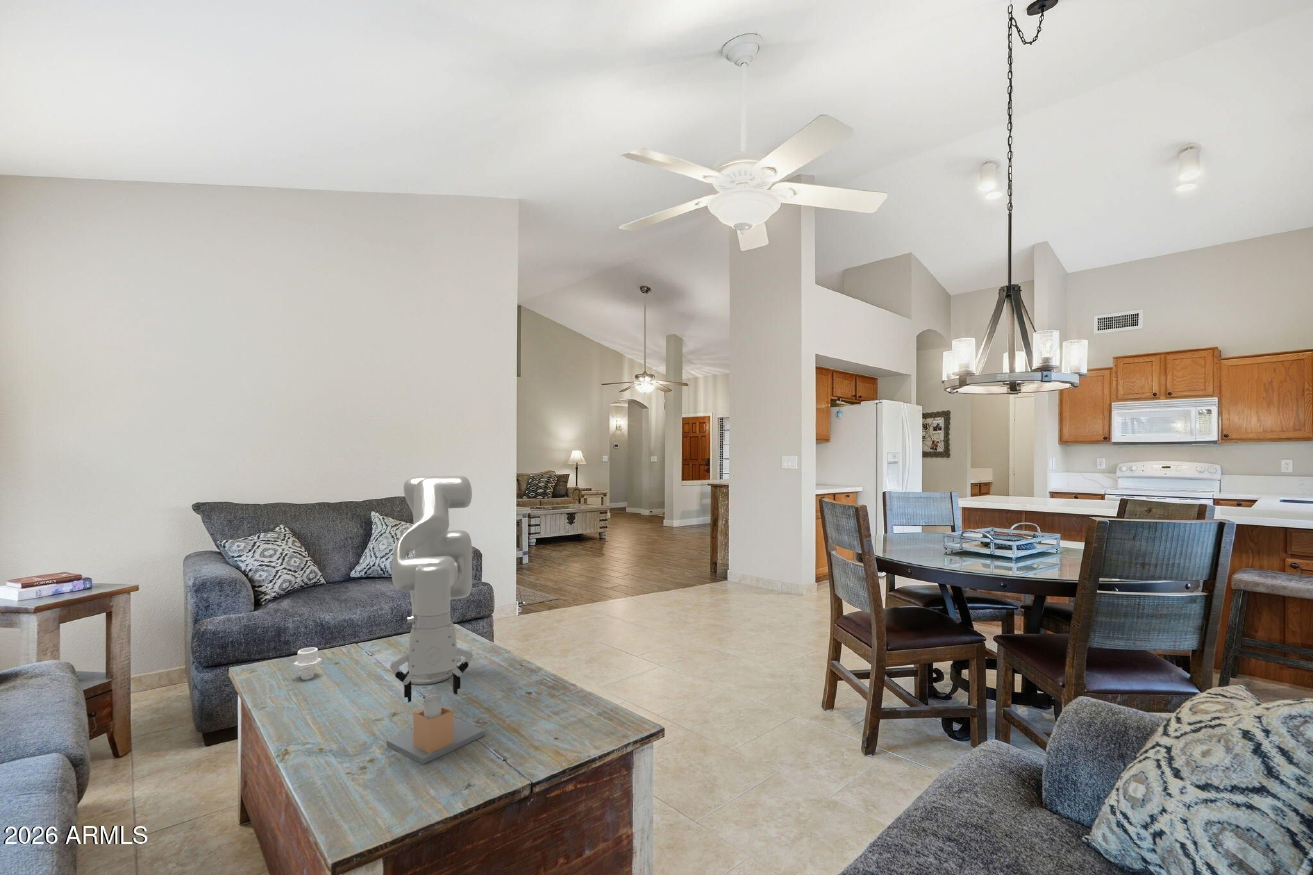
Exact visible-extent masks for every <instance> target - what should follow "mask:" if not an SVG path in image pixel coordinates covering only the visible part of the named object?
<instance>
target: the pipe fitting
mask: <svg viewBox="0 0 1313 875" xmlns="http://www.w3.org/2000/svg"><path fill="white" fill-rule="evenodd" d="M318 649H319V648H317V647H314V646H313V647H311V646H310V647H305V648H300V649H299V650H298V651H297V659H296V661H295V662H293V668H296V669H300V671H301V673H300V677H301V680H304V681H306V680H311V679H313V678H314V677H315V671H314V670H315V667H317V666H318V665H321V663H322V660H323V659H322V658H320V657H318V656H319V655H318V654H319V650H318Z"/></svg>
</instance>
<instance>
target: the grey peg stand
mask: <svg viewBox="0 0 1313 875" xmlns="http://www.w3.org/2000/svg"><path fill="white" fill-rule="evenodd" d="M441 706H442V696H441V695H439V694H435V695H428V696H426V697H424V699H423V710H424V717H426V718H428V719H432V718H435V717H437V716H440V715H441ZM485 730H486V729H484V728H481V727H478V726H477V725H473V724H471V723H469V722H466V721H464V720H461V719H460V718H457V717H456V716H455V717H454V743H452V744H450V745H447V746H445V747H443V748H441V749H439V750H436V751H434V752H432V753H430V754H429V753H427V752H425V751H423V750H421V749H419V748H417V747H415V746H414V728H412V729H410V730H408V731H405V732H404V733H401V734H399V735H397V736H394V737H391V738H389V739H387V740H386V747H388V748H390V749H392V750H394V751H396V752H398V753H400V754H402V755H404V756H406V757H408V758H410V759H411V760H413V761H415V762H417V763H419V764H421V765H425V764H428V763H429V762H431V761H433V760H435V759H437V758H439V757H442V756H444V755H446V754H448V753H450V752H452V751H454V750H457V749H458V748H461V747H463V746H465V745H467V744H470V743H472V742H474V741H476V740H478V739H480V738H482V737H484V736H485V735H486V731H485Z"/></svg>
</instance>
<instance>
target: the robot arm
mask: <svg viewBox="0 0 1313 875" xmlns="http://www.w3.org/2000/svg"><path fill="white" fill-rule="evenodd" d="M472 489H473V488H472V485H471V482H470V480H469V479H468V477H466V476H464V475H448V476H447V475H445V476H444V475H442V476H440V475H432V476H430V475H429V476H425V475H424V476H416V477H411V478H408V479H406V480H405V481H404V483H403V494H404V498H405V501H406V503H407V505H408V507H409V509H410V511H411V513H412V516H413V517H412V518H413V519H412V521H413V524H412V525H410V526H409V527H408V528H407V529H406V530H404V532H403V533H402V534H401V536H400V537H399V538H398V540H397V541H396V543H395V546H394V548H393V553H392V566H391V567H392V568H391V579H392V580H391V581H392V584H393V587H394V588H395V589H396V590H397V591H398V592H399V591H400V592H409V596H410V603H411V616H410V617H407V624H411V625H412V626H411V629H410V633H409V640H408V649H407V650H408V651H407V653H406V654H404V655H403V656H401V657H400V658H398V659H396V660H394V661H393V662H392V663H390V665H389V668H390V670H391V671H392V674H394V676H395V678H396V679H397V680H399V681H400V682H401V683H403V697H404V698H407V703H409V704H410V703H411V702H412V684H413V685H431V684H435V683H437V684H438V683H440V682H444V681H447V680H448V679H449V678H451V677H452V692H453V695H455V696H457V695H458V690H460V689H461V677H462V676H463V673H464V672H465V671H466V670H467V668H469V666H470V663H471V661H472V659H473V658H474V653H473V652H472V651H469V650H466V649H463V648H462V647H459V646H457V645H458V644H457V643H458V642H457V633H456V632H457V631H456V628H455V624H454V623H453V622H452V621H451V600H458V599H465V598H467V597H469V596H470V594H471V592H472V588H473V587H472V586H473V546H472V538H471V536H470V533H469V532H467V531H465V530H461V529H458V530H455V529H454V530H449V527H450V516H449V515H450V514H449V509H464V508H468V507H469V506H470V505H471V503H472V499H473V498H472V497H473V490H472ZM412 551H413V552H414V557H407V556H408V554H409V553H411V552H412ZM406 557H407V558H406ZM462 657H463V658H464V659H463V661H462ZM461 661H462V662H461ZM406 663H407V668H408V669H407V671H406V672H405V673H404V672H403V671H402V670H400V667H401V666H403V665H404V664H406ZM458 663H460V665H459V664H458Z"/></svg>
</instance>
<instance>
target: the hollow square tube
mask: <svg viewBox="0 0 1313 875" xmlns="http://www.w3.org/2000/svg"><path fill="white" fill-rule="evenodd" d="M454 712H455V711H454V710H452V709H450V708H447V707H445V706H443V705H441V715H440V716H437V717H435V718H432V719H428V718H426V717H424V709H421V710H419V711H417V712H415V713H413V729H414V746H415V747H417V748H419V749H421V750H423V751H425V752H427V753H429V754H430V753H432V752H434V751H436V750H439V749H441V748H443V747H445V746H447V745H450V744H452V743H454Z"/></svg>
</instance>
